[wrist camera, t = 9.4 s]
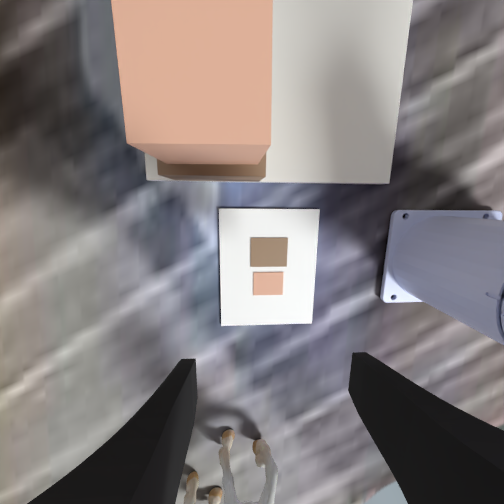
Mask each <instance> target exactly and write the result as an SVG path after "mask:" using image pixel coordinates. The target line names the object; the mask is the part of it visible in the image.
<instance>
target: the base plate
mask: <svg viewBox="0 0 504 504" xmlns="http://www.w3.org/2000/svg"><path fill="white" fill-rule="evenodd" d="M412 4H413V0H273V24H272V104H271V146H270V147H269V149H268V150H267V152H266V177H265V178H263V179H262V180H260V181H259V182H254V183H323V184H389V182H390V174H391V166H392V159H393V151H394V143H395V135H396V128H397V120H398V112H399V104H400V97H401V89H402V81H403V73H404V66H405V58H406V50H407V42H408V35H409V27H410V19H411V12H412ZM144 154H145V166H146V178H147V180H149V181H183V180H173V179H169V178H166V177H163V176H160V175H158V170H157V159H156V158H155V157H153V156H151V155H149V154H147V153H145V152H144ZM186 182H250V181H186Z"/></svg>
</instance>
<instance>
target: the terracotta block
mask: <svg viewBox="0 0 504 504" xmlns="http://www.w3.org/2000/svg"><path fill="white" fill-rule="evenodd" d="M111 4H112V13H113V22H114V31H115V40H116V49H117V59H118V68H119V77H120V86H121V95H122V104H123V113H124V122H125V131H126V140H127V144H129V145H131V146H133V147H135V148H137V149H139V150H141V151H143V152H145V153H147V154H149V155H151V156H153V157H155V158H156V159H158V160H160V161H162V162H164V163H166V164H255V165H258V164H259V162H260V161H261V159H262V158H263V156H264V155H265V153H266V152H267V150H268V149H269V147H270V146H271V104H272V24H273V0H111Z"/></svg>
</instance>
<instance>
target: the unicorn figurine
mask: <svg viewBox="0 0 504 504" xmlns="http://www.w3.org/2000/svg"><path fill="white" fill-rule="evenodd" d="M234 437H235V433H234V431H233V430H231V429H229V430H226V431H225V432H224V433H223V434H222V445H223V447H221V448H220V450H219V458H220V465H221V467H222V469H223V478H222V484H223V488H224V491H225V494H224V504H274V497H275V490H276V484H277V479H278V468H277V466H276V464H275V462H274V460H273V458H272V456H271V451H270V448H269V446H268V445H267V444H266V441H265V440H263V439H258V440H255V441H254V442H253V452H254V454H255V455H256V457H255V461H256V464H257V466H258V467H260V468H264V467H265V472H266V483H265V486H264V489H263V492H262V494H261V497H260V500H259V502H252V501H245V502H240V501H239V500H238V499H237V496H236V493H235V488H234V479H233V475H232V473H231V470H230V464H229V460H230V448H231V446H232V443H233V440H234ZM198 485H199V482H198V474H197V472H195V471H194V472H192V473H190V474H189V476H188V478H187V487H186V492H187V493H186V495H185V497H184V504H195V502H196V491H197V488H198ZM222 492H223V491H222V489H221V488H219V487H216V488H213V489H212V490H211V491H210V493H209V497H208V501H209V504H219V503H220V501H221V496H222Z"/></svg>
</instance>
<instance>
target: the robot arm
mask: <svg viewBox="0 0 504 504" xmlns="http://www.w3.org/2000/svg"><path fill="white" fill-rule="evenodd" d="M404 213H405V218H404V219H403V217H402V216H403V214H404ZM483 216H484V218H483ZM392 295H394V296H393V297H392V298H391V296H392ZM380 298H381V300H383V301H384V302H387V303H389V302H425V303H427V304H429V305H431V306H433V307H434V308H436V309H438V310H440V311H442V312H444V313H445V314H447V315H449V316H451V317H453V318H455V319H456V320H458V321H460V322H462V323H464V324H466V325H467V326H469V327H471V328H473V329H475V330H477V331H479V332H480V333H482V334H484V335H486V336H488V337H490V338H491V339H493V340H495V341H497V342H499V343H501V344H502V345H504V220H502V213H501V212H500V211H494V210H395V211H394V212H393V213H392V215H391V220H390V228H389V235H388V243H387V250H386V257H385V265H384V272H383V280H382V287H381V295H380ZM348 391H349V393H350V396H351V398H352V400H353V403H354V405H355V407H356V409H357V412H358V414H359V416H360V417H361V419H362V421H363V423H364V425H365V426H366V428H367V430H368V432H369V433H370V435H371V437H372V439H373V440H374V442H375V444H376V445H377V447H378V449H379V451H380V452H381V454H382V456H383V457H384V459H385V461H386V463H387V464H388V466H389V468H390V470H391V471H392V473H393V475H394V477H395V479H396V481H397V482H398V484H399V486H400V488H401V490H402V492H403V494H404V496H405V498H406V500H407V503H408V504H504V431H503V430H501V429H499V428H497V427H494V426H492V425H490V424H488V423H486V422H484V421H482V420H480V419H478V418H476V417H474V416H472V415H470V414H468V413H466V412H464V411H462V410H460V409H458V408H456V407H454V406H453V405H451V404H449V403H447V402H445V401H444V400H442V399H440V398H438V397H437V396H435V395H433V394H432V393H430V392H428V391H426V390H425V389H423V388H421V387H420V386H418V385H417V384H415V383H413V382H412V381H410V380H409V379H407V378H405V377H404V376H402V375H401V374H399V373H398V372H396V371H395V370H393V369H391V368H390V367H388V366H387V365H385V364H384V363H382V362H381V361H379V360H377V359H376V358H374V357H373V356H371V355H369V354H368V353H366V352H359V353H353V354H352V363H351V371H350V380H349V389H348ZM196 404H197V379H196V359H181V360H180V361H179V362H178V364H177V365H176V366H175V368H174V369H173V370H172V372H171V373H170V374H169V376H168V377H167V378H166V379H165V381H164V382H163V383H162V384H161V385H160V387H159V388H158V389H157V390H156V391H155V393H154V394H153V395H152V396H151V397H150V398H149V400H148V401H147V402H146V403H145V404H144V405H143V406H142V407H141V408H140V409H139V410H138V412H137V413H136V414H135V415H134V416H133V417H132V418H131V419H130V420H129V421H128V422H127V423H126V424H125V425H124V426H123V427H122V428H121V429H120V430H119V431H118V432H117V433H116V434H115V435H113V436H112V437H111V438H110V439H109V440H108V441H107V442H106V443H105V444H103V445H102V446H101V447H100V448H99V449H98V450H96V451H95V452H94V453H93V454H92V455H91V456H89V457H88V458H87V459H86V460H85V461H83V462H82V463H81V464H80V465H79V466H77V467H76V468H75V469H73V470H72V471H71V472H70V473H68V474H67V475H66V476H64V477H63V478H62V479H61V480H59V481H58V482H56V483H55V484H54V485H52V486H51V487H50V488H48V489H47V490H46V491H44V492H43V493H42V494H40V495H39V496H37V497H36V498H35V499H33V500H32V501H30V502H29V503H27V504H175V502H176V497H177V492H178V488H179V483H180V479H181V475H182V471H183V467H184V463H185V459H186V454H187V450H188V446H189V442H190V438H191V434H192V429H193V425H194V419H195V412H196Z"/></svg>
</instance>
